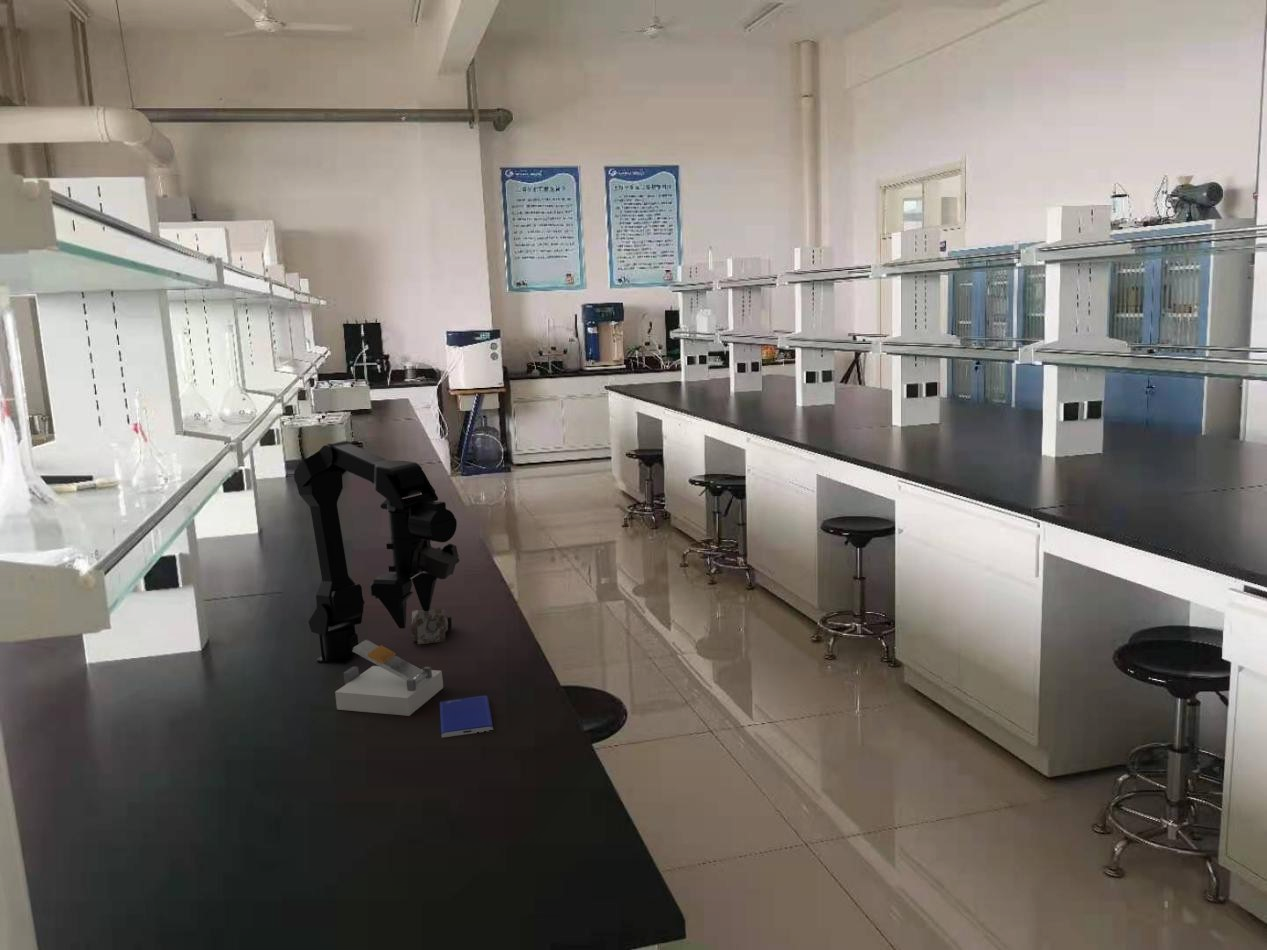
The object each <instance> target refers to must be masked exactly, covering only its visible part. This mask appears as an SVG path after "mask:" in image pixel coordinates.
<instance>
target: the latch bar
mask: <svg viewBox="0 0 1267 950" xmlns="http://www.w3.org/2000/svg"><path fill="white" fill-rule="evenodd" d="M352 651H353V652H354V653H356V654H358V656H360V657H361V658H364V659H366V660H367V661H369V662H371V663H373V664H375V666H380V667H382V668H384V669H385V670H387V671H389V672H391V673H393V674H395V675H396V676H398V677H400V678H402V679H404V680H406V681H407V680H408V679H415V683H416V685H417V684H418V683H419V682H421V681H422V680H423V679H425V678H426V677H427V676H428V673H427V671H423V670H422V669H423V668H419V667H418V666H416V665H414V664H412V663H410V662H409V661H407V660H405V659H403V658H401V657H399V656H397V655H396V652H394V651H393V650H391V649H389V648H387V647H385V646H383V645H377V644H375V643H374V642H372V641H370V640H369V639H364V640H363V641H362V642H360V643H358V645H357V646H355V647H353V650H352Z"/></svg>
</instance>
